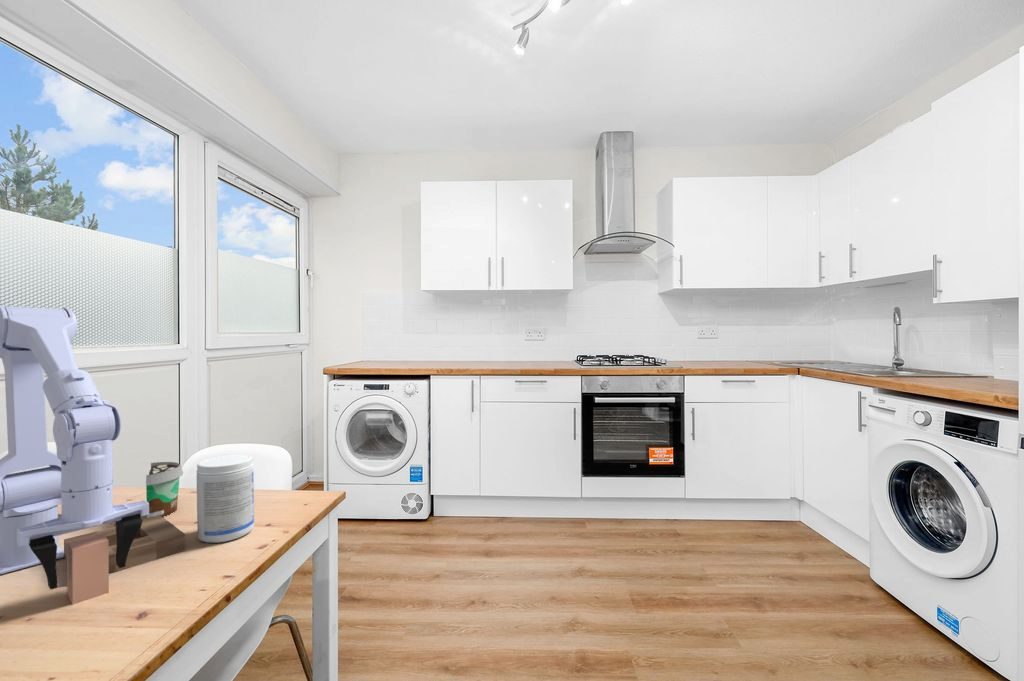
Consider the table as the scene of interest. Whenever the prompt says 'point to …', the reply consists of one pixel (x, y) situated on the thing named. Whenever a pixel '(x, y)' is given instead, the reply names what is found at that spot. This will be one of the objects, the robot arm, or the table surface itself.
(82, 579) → the terracotta peg
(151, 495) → the food container
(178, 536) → the walnut stand board
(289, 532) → the table surface
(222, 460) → the supplement tub
